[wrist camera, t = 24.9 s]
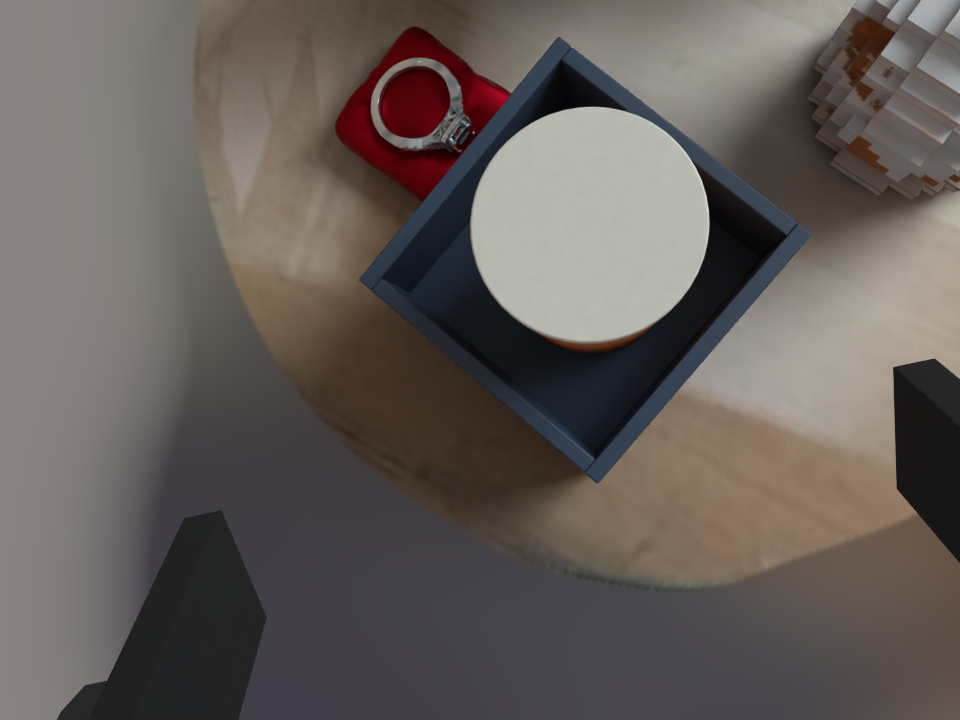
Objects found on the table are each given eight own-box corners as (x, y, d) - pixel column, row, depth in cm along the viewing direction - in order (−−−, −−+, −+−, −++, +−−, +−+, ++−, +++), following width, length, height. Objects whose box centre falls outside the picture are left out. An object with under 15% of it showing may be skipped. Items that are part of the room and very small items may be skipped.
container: (476, 287, 36) (422, 242, 25) (581, 160, 36) (572, 58, 25) (602, 391, 35) (602, 391, 24) (710, 263, 35) (761, 204, 24)
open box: (394, 296, 37) (358, 279, 32) (565, 90, 36) (558, 35, 31) (598, 470, 36) (597, 484, 30) (779, 258, 35) (812, 233, 29)
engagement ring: (444, 221, 37) (431, 207, 34) (335, 140, 38) (314, 120, 35) (526, 108, 37) (521, 85, 34) (415, 30, 37) (400, 0, 35)
